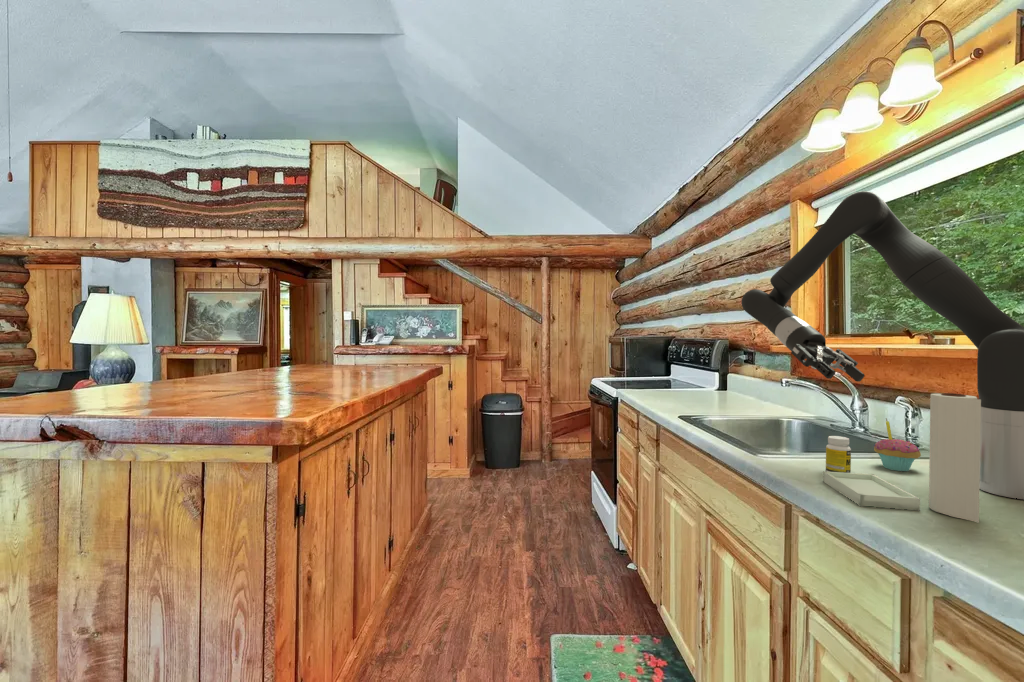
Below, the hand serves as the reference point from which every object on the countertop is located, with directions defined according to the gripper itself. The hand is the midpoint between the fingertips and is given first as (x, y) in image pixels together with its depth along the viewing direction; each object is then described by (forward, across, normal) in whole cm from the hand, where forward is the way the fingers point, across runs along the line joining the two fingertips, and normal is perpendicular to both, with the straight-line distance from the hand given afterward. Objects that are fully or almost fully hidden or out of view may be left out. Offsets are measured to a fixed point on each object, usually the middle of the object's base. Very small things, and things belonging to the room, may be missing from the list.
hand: (847, 377), depth 103 cm
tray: (+22, -5, +13) cm, 26 cm away
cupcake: (+10, +20, +18) cm, 29 cm away
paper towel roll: (+31, 0, +7) cm, 31 cm away
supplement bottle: (+11, +2, +20) cm, 23 cm away
